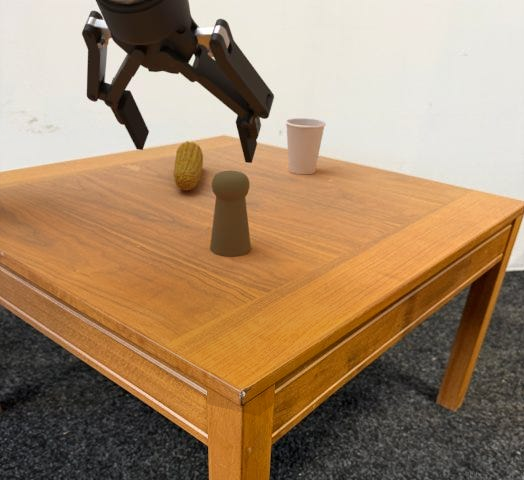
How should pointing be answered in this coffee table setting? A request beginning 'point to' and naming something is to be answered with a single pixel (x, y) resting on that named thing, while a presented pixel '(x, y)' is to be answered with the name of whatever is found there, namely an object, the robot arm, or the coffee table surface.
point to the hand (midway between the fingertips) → (196, 146)
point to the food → (188, 165)
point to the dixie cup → (304, 144)
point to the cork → (230, 214)
